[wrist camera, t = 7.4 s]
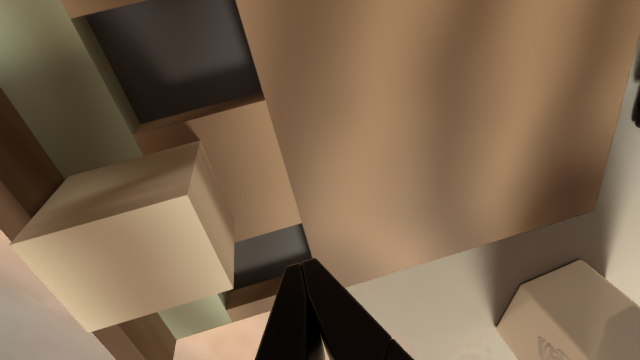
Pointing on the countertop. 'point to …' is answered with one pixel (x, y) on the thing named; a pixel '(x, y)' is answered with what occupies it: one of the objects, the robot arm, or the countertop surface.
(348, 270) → the board
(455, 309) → the countertop surface
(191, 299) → the block
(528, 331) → the jar
